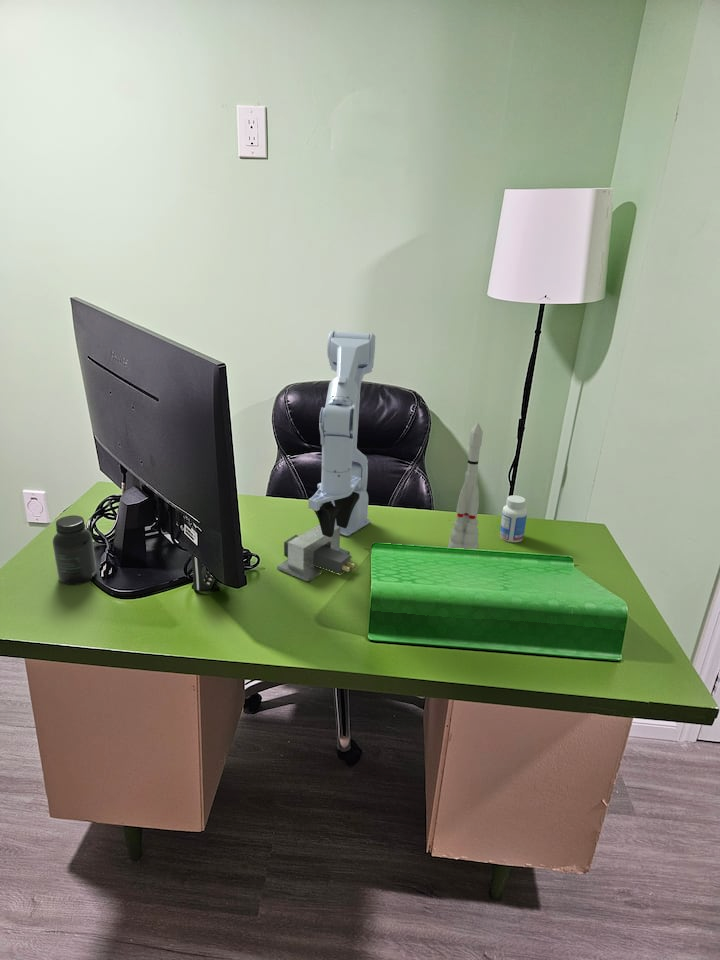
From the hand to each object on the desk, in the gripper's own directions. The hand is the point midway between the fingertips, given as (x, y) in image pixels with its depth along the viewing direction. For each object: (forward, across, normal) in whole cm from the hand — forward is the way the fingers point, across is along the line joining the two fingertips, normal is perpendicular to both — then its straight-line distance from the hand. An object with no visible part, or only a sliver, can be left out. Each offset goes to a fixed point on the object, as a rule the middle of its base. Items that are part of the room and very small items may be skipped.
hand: (334, 530), depth 125 cm
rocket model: (+9, -22, +18) cm, 30 cm away
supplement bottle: (+9, +33, -37) cm, 50 cm away
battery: (+9, +19, -16) cm, 26 cm away
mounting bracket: (+9, 0, -5) cm, 10 cm away
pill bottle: (+9, -37, +23) cm, 44 cm away
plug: (+9, -1, -5) cm, 10 cm away
